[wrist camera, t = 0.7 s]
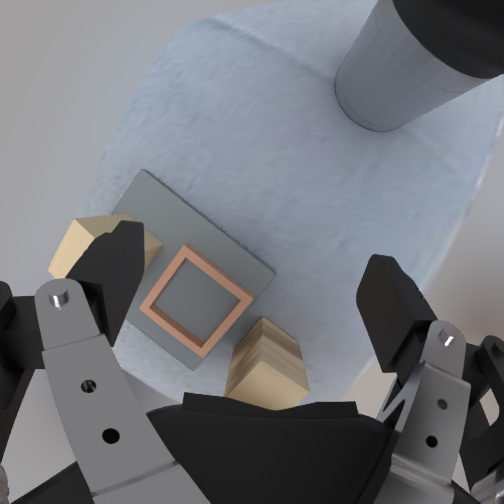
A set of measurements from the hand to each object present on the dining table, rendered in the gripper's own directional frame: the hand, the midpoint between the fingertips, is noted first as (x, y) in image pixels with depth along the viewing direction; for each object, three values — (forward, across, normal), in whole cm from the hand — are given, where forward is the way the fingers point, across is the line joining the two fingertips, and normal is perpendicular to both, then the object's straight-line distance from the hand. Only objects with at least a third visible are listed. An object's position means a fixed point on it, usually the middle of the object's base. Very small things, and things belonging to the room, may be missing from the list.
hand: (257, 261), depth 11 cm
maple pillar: (+15, -5, +20) cm, 25 cm away
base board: (+18, +7, +14) cm, 24 cm away
